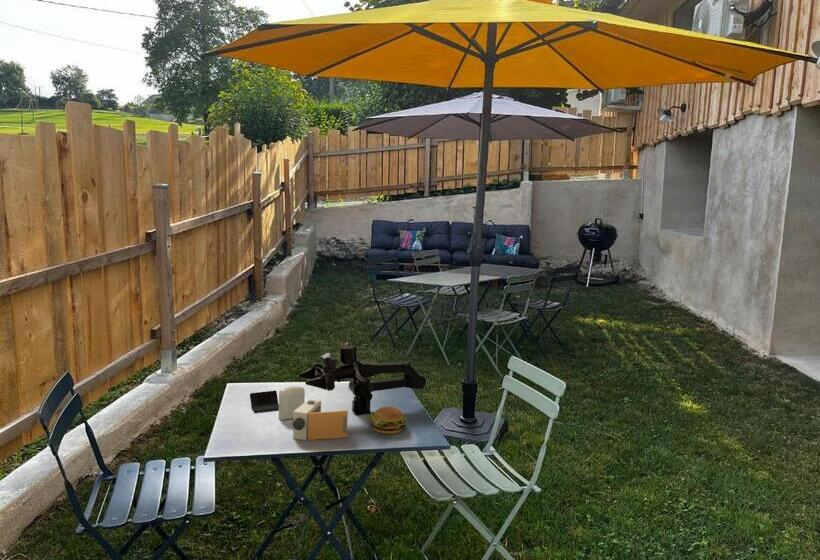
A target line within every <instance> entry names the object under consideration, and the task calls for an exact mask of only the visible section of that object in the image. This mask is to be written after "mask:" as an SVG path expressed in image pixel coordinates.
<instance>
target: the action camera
mask: <svg viewBox="0 0 820 560" xmlns="http://www.w3.org/2000/svg"><path fill="white" fill-rule="evenodd" d="M315 412H322V400H319V399H312V398H308V399H306V401H304V403H303V404H302V405H301V406H300V407H298V408H297V409H296V410H295V411H294V415H293V418H292V419H293V420H292V426H293V428H292V431H293V432H292V438H293V439H297V440H303V441H308V440H307V413H315Z"/></svg>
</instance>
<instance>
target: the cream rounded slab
mask: <svg viewBox="0 0 820 560" xmlns="http://www.w3.org/2000/svg"><path fill="white" fill-rule="evenodd" d="M305 393H306V392H305V388H304V387H303V386H299V385H293V386H288V387H283V388H281V389H280V390H279V391H278V404H279V410H278V419H279V420H280V421H282V420H284V421H285V420H289V419H290V420H291V419H293V415H294V411H295V410H296V409H297V408H298V407H300V406H301V405H302V404H303V403H305V402H306V401H305V399H306V397H305V396H306V395H305Z"/></svg>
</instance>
